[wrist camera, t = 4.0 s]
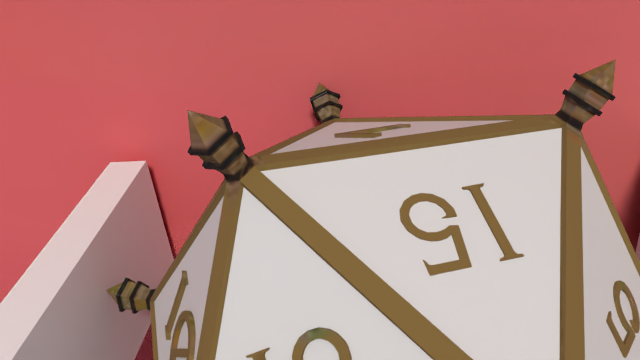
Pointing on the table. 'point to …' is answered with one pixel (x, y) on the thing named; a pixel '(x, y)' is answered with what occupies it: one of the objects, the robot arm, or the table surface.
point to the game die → (403, 243)
